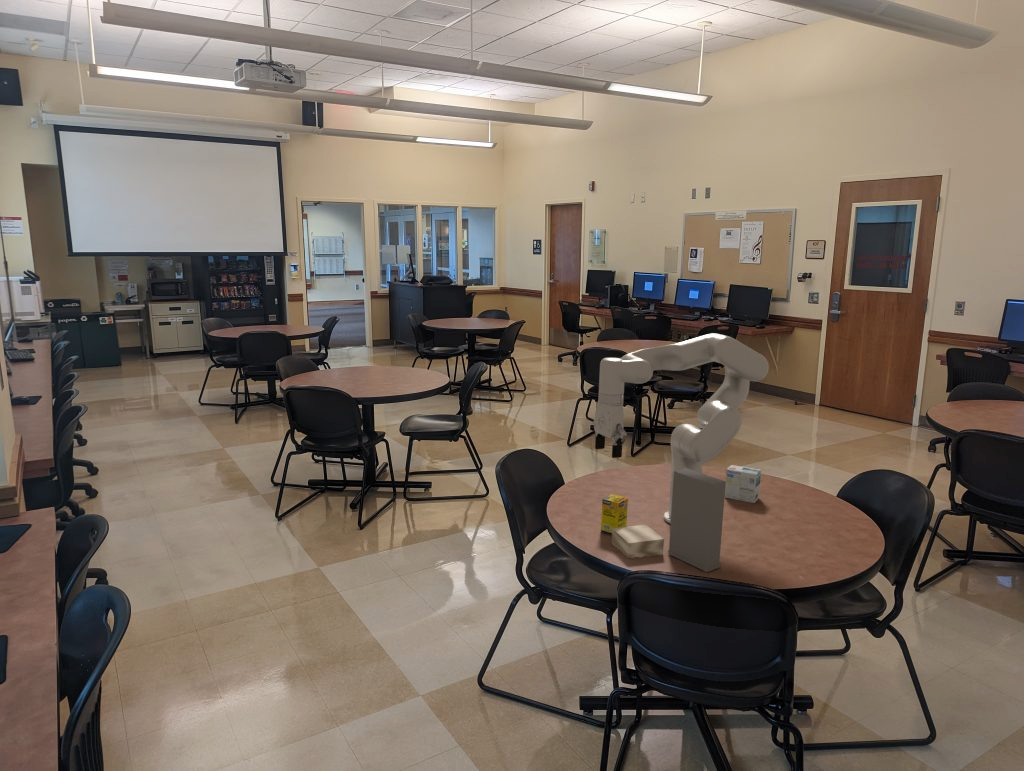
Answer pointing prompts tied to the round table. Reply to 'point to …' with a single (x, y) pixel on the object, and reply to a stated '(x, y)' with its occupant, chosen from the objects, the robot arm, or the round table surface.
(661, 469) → the round table surface
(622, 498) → the supplement box
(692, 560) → the upright grey panel
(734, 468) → the light bulb box
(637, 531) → the birch block
